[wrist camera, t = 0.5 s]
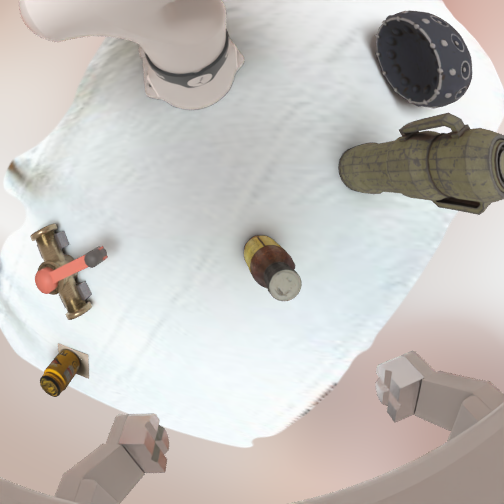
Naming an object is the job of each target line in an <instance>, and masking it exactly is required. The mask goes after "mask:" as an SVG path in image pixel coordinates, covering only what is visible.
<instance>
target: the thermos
mask: <svg viewBox="0 0 504 504" xmlns="http://www.w3.org/2000/svg"><path fill="white" fill-rule="evenodd" d="M441 126H446V127H449V128H451V130H452V132H450V133H447V134H446V133H441V134H440V133H437V132H433V131H423V132H419V131H421V130H426V129H431V128H436V127H441ZM399 131H400V133H401V135H402V137H399V138H398V139H396V140H395V141H391V142H386V143H381V144H377V143H366V144H362V145H359V146H356V147H353V148H351V149H348V150H347V151H346V152H345V153H344V154H343V155H342V157H341V159H340V162H339V174H340V177H341V180H342V181H343V183H344V184H345V185H346V186H347V187H348V188H350V189H351V190H354V191H358V192H362V193H370V194H380V193H382V192H394V193H402V194H403V195H405V196H408V197H410V198H418V199H425V200H432V201H433V202H434V203H435V204H436V205H437V206H438V207H440V208H447V209H452V210H458V211H463V212H468V213H473V214H478V215H480V214H481V213H483V212H484V211H485V209H486V208H487V207H488V205H490V204H491V203H492V202H496V201H499V200H502V199H504V135H501V134H499V133H496V132H493V131H490V130H486V129H482V128H477V129H470V128H469V126H468V125H464V123H463V122H462V120H461V119H460V118H458V117H456V116H454V115H452V114H450V113H445V114H441V115H437V116H433V117H429V118H425V119H421V120H417V121H413V122H411V123H408V124H406V125H405V126H403V127H402V128H401V129H400V130H399Z"/></svg>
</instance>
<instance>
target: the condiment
mask: <svg viewBox="0 0 504 504" xmlns="http://www.w3.org/2000/svg"><path fill="white" fill-rule="evenodd" d="M58 351H59V354H58V355H57V356H56V357H55V359H54V360H53V361H52V362H51V364H50V365H49V366H48V367H47V368H46V370H45V371H44V375H43V376H42V377H41V379H40V384H41V387H42V388H43V390H44V391H45V392H46V393H48V394H49V395H51V396H54V397H57V396H59V395H60V393H61V392H62V391H63V390H65V389H66V387H67V386H68V384H69V383H70V381H71V380H72V378H73V377H74V375H75V374H78V375H81V376H83V377H86V378H88V379H89V364H88V355H87V354H84V353H81V352H79V351H76V350H74V349H71V348H69V347H66V346H64V345H61V344H58ZM81 359H82V360H81Z"/></svg>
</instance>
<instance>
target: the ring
mask: <svg viewBox="0 0 504 504" xmlns="http://www.w3.org/2000/svg"><path fill="white" fill-rule="evenodd" d="M376 49H377V52H376V55H377V56H378V60H379V63H380V66H381V68H382V71H383V75H384V76H385V77H386V78H387V80H388V82H389V83H390V85H391V86H392V87H393V88H394V91H395V92H396V93H398V94H399V95H400V96H402V97H403V98H404V99H406V100H407V101H409V103H414V104H415V105H416V106H418V107H419V106H424V107H432V108H437V107H442V106H446V105H448V104H451V103H453V102H455V101H457V100H458V99H460V98H461V97H462V96H463V95H464V94H465V92H466V91H467V89H468V87H469V85H470V82H471V79H472V61H471V56H470V53H469V51H468V48H467V46H466V44H465V43H464V41H463V39H462V37H461V36H460V34H459V33H458V32H457V31H456V30H455V29H454V28H453V27H452V26H451V25H450V24H448V23H447V22H446V21H444V20H442V19H441V18H439V17H437V16H435V15H432V14H430V13H426V12H418V11H403V12H400V13H397V14H395V15H393V16H392V15H390V16H388V17H387V18H386V20H385V21H383V24H382V25H381V26H380V28H379V30H378V33H377V34H376Z"/></svg>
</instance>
